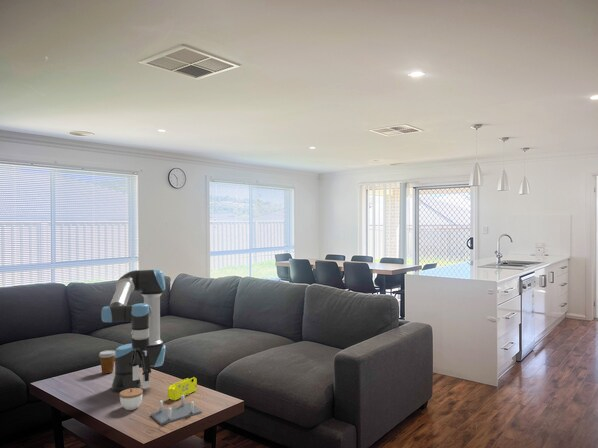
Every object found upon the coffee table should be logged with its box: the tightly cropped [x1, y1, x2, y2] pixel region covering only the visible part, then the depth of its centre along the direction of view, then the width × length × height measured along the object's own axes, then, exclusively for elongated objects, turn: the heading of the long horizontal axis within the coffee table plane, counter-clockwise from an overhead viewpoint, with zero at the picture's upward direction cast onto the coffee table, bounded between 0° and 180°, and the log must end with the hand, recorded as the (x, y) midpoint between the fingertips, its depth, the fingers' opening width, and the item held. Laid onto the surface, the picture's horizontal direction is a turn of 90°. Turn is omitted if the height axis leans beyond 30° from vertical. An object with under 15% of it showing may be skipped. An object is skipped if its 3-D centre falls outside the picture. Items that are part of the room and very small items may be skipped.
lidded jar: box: [119, 387, 144, 411], centre depth 222 cm, size 11×11×9 cm
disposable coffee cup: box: [98, 349, 115, 374], centre depth 275 cm, size 10×10×12 cm
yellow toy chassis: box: [167, 376, 198, 401], centre depth 237 cm, size 16×6×8 cm, turn 150°
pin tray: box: [150, 395, 203, 426], centre depth 213 cm, size 13×20×6 cm, turn 128°
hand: (140, 383), depth 207 cm, fingers open, 13 cm apart
